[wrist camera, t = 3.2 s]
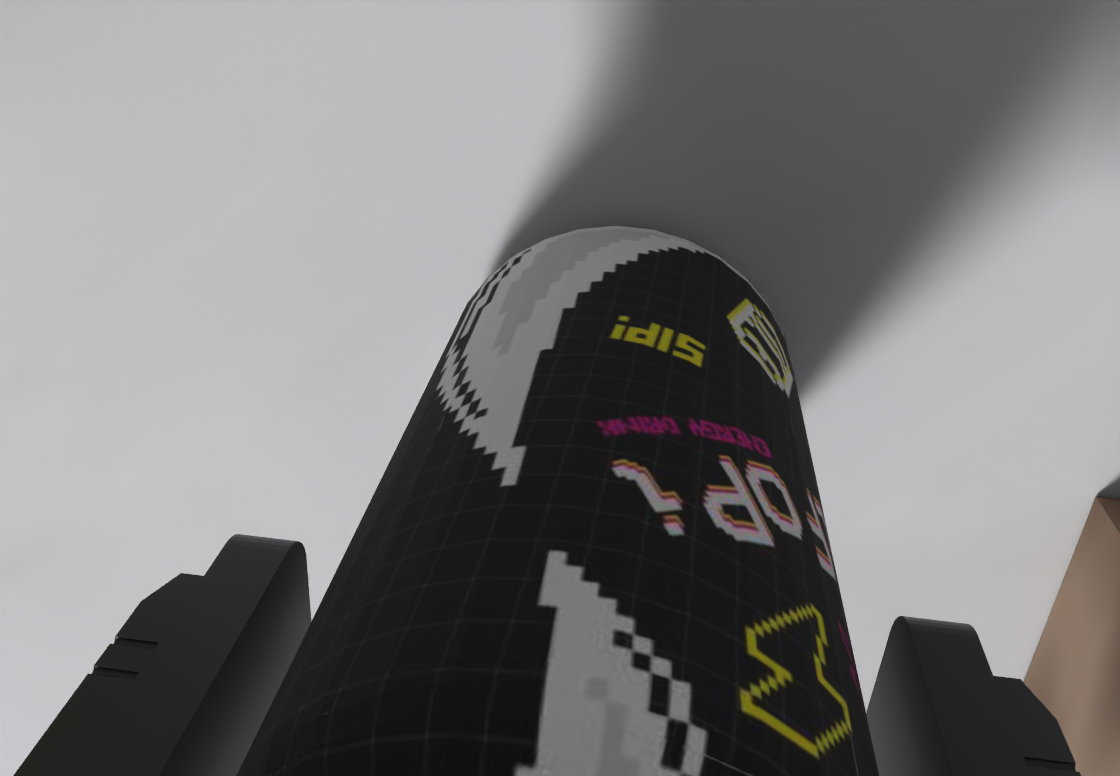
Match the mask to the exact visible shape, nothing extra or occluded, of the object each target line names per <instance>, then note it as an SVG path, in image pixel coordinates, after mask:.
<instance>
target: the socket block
mask: <svg viewBox="0 0 1120 776" xmlns="http://www.w3.org/2000/svg"><path fill="white" fill-rule="evenodd" d="M1023 683H1024V684H1025V685H1026V686H1027V687H1028V688H1029V689H1030V690H1031V691H1032V693H1033V694H1034V695H1035V696H1036V697H1037V698H1038V699H1039V700H1040V701H1041V702H1042V704H1043V705H1044V706H1045V707H1046V708H1047V709H1048V710H1049V711H1050V712H1051V713H1052V715H1053V716H1054V717H1055V718H1056V719H1057V721H1058V723H1059V725H1060V728H1061V730H1062V732H1063V735H1064V737H1065V739H1066V742H1067V744H1068V746H1069V749H1070V751H1071V753H1072V755H1073V758H1074V760H1075V762H1076V765H1075V769H1076V772H1080V774H1081V776H1120V499H1111V498H1102V497H1096V498H1095V501H1094V503H1093V506H1092V508H1091V511H1090V513H1089V516H1088V519H1087V521H1086V524H1085V526H1084V529H1083V531H1082V534H1081V536H1080V539H1079V542H1078V544H1077V547H1076V549H1075V552H1074V554H1073V557H1072V559H1071V562H1070V565H1069V567H1068V570H1067V572H1066V575H1065V577H1064V580H1063V582H1062V585H1061V588H1060V590H1059V593H1058V595H1057V598H1056V600H1055V603H1054V605H1053V608H1052V610H1051V613H1050V616H1049V618H1048V621H1047V623H1046V626H1045V628H1044V631H1043V633H1042V636H1041V639H1040V641H1039V644H1038V646H1037V649H1036V651H1035V654H1034V656H1033V659H1032V662H1031V664H1030V667H1029V669H1028V672H1027V674H1026V677H1025V679H1024V682H1023Z"/></svg>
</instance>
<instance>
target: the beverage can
mask: <svg viewBox="0 0 1120 776" xmlns="http://www.w3.org/2000/svg"><path fill="white" fill-rule="evenodd" d="M236 776H879V772H878V768H877V763H876V758H875V754H874V749H873V744H872V740H871V735H870V730H869V725H868V721H867V716H866V711H865V707H864V702H863V697H862V693H861V688H860V683H859V678H858V674H857V669H856V664H855V660H854V655H853V650H852V646H851V641H850V636H849V631H848V627H847V622H846V617H845V613H844V608H843V603H842V599H841V594H840V589H839V585H838V580H837V575H836V570H835V566H834V561H833V556H832V552H831V547H830V542H829V538H828V533H827V528H826V523H825V519H824V514H823V509H822V505H821V500H820V495H819V491H818V486H817V481H816V476H815V472H814V467H813V462H812V458H811V453H810V448H809V444H808V439H807V434H806V429H805V425H804V420H803V415H802V411H801V406H800V401H799V397H798V392H797V387H796V383H795V378H794V373H793V368H792V364H791V360H790V356H789V353H788V349H787V345H786V341H785V337H784V334H783V333H782V331H781V329H780V327H779V325H778V323H777V321H776V319H775V317H774V315H773V313H772V311H771V309H770V307H769V305H768V304H767V303H766V301H765V300H764V299H763V298H762V297H761V295H760V294H759V293H758V292H757V290H756V289H755V288H754V287H753V286H752V284H751V283H750V282H749V281H748V279H747V278H746V277H744V276H743V275H742V274H741V273H739V272H738V271H737V270H736V269H734V268H733V267H732V266H731V265H729V264H728V263H727V262H726V261H724V260H723V259H722V258H721V257H719V256H718V255H716V254H714V253H712V252H710V251H708V250H706V249H704V248H702V247H700V246H698V245H697V244H695V243H693V242H691V241H689V240H687V239H683V238H680V237H677V236H673V235H670V234H666V233H663V232H660V231H656V230H653V229H644V228H634V227H624V226H607V227H596V228H585V229H578V230H575V231H571V232H568V233H564V234H561V235H557V236H554V237H550V238H547V239H544V240H543V241H541V242H539V243H537V244H535V245H533V246H531V247H529V248H527V249H525V250H523V251H521V252H519V253H517V254H516V255H514V256H513V257H512V258H511V259H509V260H508V261H507V262H506V263H504V264H503V265H502V266H501V267H500V268H498V269H497V270H496V271H495V272H493V273H492V274H491V275H490V276H489V277H488V278H487V279H486V280H485V282H484V283H483V284H482V285H481V287H480V288H479V289H478V290H477V292H476V293H475V294H474V295H473V297H472V298H471V299H470V300H469V302H468V303H467V305H466V307H465V309H464V311H463V313H462V315H461V317H460V319H459V321H458V324H457V326H456V328H455V330H454V332H453V334H452V336H451V338H450V340H449V342H448V344H447V346H446V348H445V350H444V352H443V354H442V356H441V358H440V360H439V362H438V364H437V366H436V368H435V371H434V373H433V375H432V377H431V379H430V381H429V383H428V385H427V387H426V389H425V391H424V393H423V395H422V397H421V399H420V401H419V403H418V405H417V407H416V409H415V411H414V413H413V415H412V418H411V420H410V422H409V424H408V426H407V428H406V430H405V432H404V434H403V436H402V438H401V440H400V442H399V444H398V446H397V448H396V450H395V452H394V454H393V456H392V458H391V460H390V462H389V465H388V467H387V469H386V471H385V473H384V475H383V477H382V479H381V481H380V483H379V485H378V487H377V489H376V491H375V493H374V495H373V497H372V499H371V501H370V503H369V505H368V507H367V509H366V512H365V514H364V516H363V518H362V520H361V522H360V524H359V526H358V528H357V530H356V532H355V534H354V536H353V538H352V540H351V542H350V544H349V546H348V548H347V550H346V552H345V554H344V557H343V559H342V561H341V563H340V565H339V567H338V569H337V571H336V573H335V575H334V577H333V579H332V581H331V583H330V585H329V587H328V589H327V591H326V593H325V595H324V597H323V599H322V601H321V604H320V606H319V608H318V610H317V612H316V614H315V616H314V618H313V620H312V622H311V624H310V626H309V628H308V630H307V632H306V634H305V636H304V638H303V640H302V642H301V644H300V646H299V648H298V651H297V653H296V655H295V657H294V659H293V661H292V663H291V665H290V667H289V669H288V671H287V673H286V675H285V677H284V679H283V681H282V683H281V685H280V687H279V689H278V691H277V693H276V695H275V698H274V700H273V702H272V704H271V706H270V708H269V710H268V712H267V714H266V716H265V718H264V720H263V722H262V724H261V726H260V728H259V730H258V732H257V734H256V736H255V738H254V740H253V742H252V745H251V747H250V749H249V751H248V753H247V755H246V757H245V759H244V761H243V763H242V765H241V767H240V769H239V771H238V773H237V775H236Z"/></svg>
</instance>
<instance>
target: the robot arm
mask: <svg viewBox="0 0 1120 776" xmlns="http://www.w3.org/2000/svg"><path fill="white" fill-rule="evenodd" d="M310 624H311V611H310V599H309V586H308V573H307V560H306V552H305V548H304V546H303V544H302V543H301V542H299V541H290V540H282V539H274V538H265V537H257V536H249V535H241V534H236V535H234V536H232V537H231V538H230V539H229V540H228V541H227V543H226V544H225V546H224V547H223V549H222V550H221V552H220V553H219V555H218V556H217V558H216V559H215V561H214V562H213V563H212V565H211V566H210V568H209V569H208V571H207V572H206V574H205V575H204V576H199V575H191V574H183V573H181V574H179V575H178V576H177V577H175V578H174V579H172V580H171V581H169V582H168V583H167V584H165V585H164V586H162V587H161V588H159V589H158V590H157V591H155V592H154V593H152V594H151V595H150V596H148V597H147V598H145V599H144V600H142V601H141V602H140V604H139V605H138V606H137V608H136V609H135V610H134V612H133V613H132V615H131V616H130V617H129V619H128V620H127V621H126V623H125V624H124V625H123V627H122V628H121V630H120V631H119V632H118V634H117V635H116V636H115V642H114V644H110V645H109V646H108V647H107V649H106V650H105V651H104V653H103V654H102V655H101V657H100V658H99V660H98V661H97V662H96V664H95V665H94V670H93V673H92V674H88V675H87V676H86V677H85V679H84V680H83V681H82V683H81V684H80V685H79V687H78V688H77V690H76V691H75V692H74V694H73V695H72V696H71V698H70V699H69V701H68V702H67V703H66V705H65V706H64V707H63V709H62V710H61V711H60V713H59V714H58V716H57V717H56V718H55V720H54V721H53V722H52V724H51V725H50V726H49V728H48V729H47V731H46V732H45V733H44V735H43V736H42V737H41V739H40V740H39V741H38V743H37V744H36V746H35V747H34V748H33V750H32V751H31V752H30V754H29V755H28V756H27V758H26V759H25V761H24V762H23V763H22V765H21V766H20V767H19V769H18V770H17V771H16V773H15V774H14V776H236V775H237V773H238V771H239V769H240V767H241V765H242V763H243V761H244V759H245V757H246V755H247V753H248V751H249V749H250V747H251V745H252V742H253V740H254V738H255V736H256V734H257V732H258V730H259V728H260V726H261V724H262V722H263V720H264V718H265V716H266V714H267V712H268V710H269V708H270V706H271V704H272V702H273V700H274V698H275V695H276V693H277V691H278V689H279V687H280V685H281V683H282V681H283V679H284V677H285V675H286V673H287V671H288V669H289V667H290V665H291V663H292V661H293V659H294V657H295V655H296V653H297V651H298V648H299V646H300V644H301V642H302V640H303V638H304V636H305V634H306V632H307V630H308V628H309V626H310ZM866 716H867V721H868V725H869V730H870V735H871V740H872V744H873V749H874V754H875V758H876V763H877V768H878V772H879V776H1081V774H1080V772H1076V769H1075V765H1076V762H1075V760H1074V758H1073V755H1072V753H1071V751H1070V749H1069V746H1068V744H1067V742H1066V739H1065V737H1064V735H1063V732H1062V730H1061V728H1060V725H1059V723H1058V721H1057V719H1056V718H1055V717H1054V716H1053V715H1052V713H1051V712H1050V711H1049V710H1048V709H1047V708H1046V707H1045V706H1044V705H1043V704H1042V702H1041V701H1040V700H1039V699H1038V698H1037V697H1036V696H1035V695H1034V694H1033V693H1032V691H1031V690H1030V689H1029V688H1028V687H1027V686H1026V685H1025V684H1024V683H1023V682H1022V680H1021V679H1014V678H1006V677H998V676H993V674H992V672H991V669H990V667H989V664H988V661H987V659H986V656H985V653H984V651H983V648H982V645H981V643H980V640H979V637H978V635H977V633H976V631H975V630H974V628H973V627H972V626H971V625H969V624H963V623H955V622H946V621H938V620H930V619H921V618H913V617H905V616H899V617H898V618H897V619H896V620H895V621H894V623H893V625H892V628H891V631H890V634H889V638H888V641H887V644H886V648H885V651H884V655H883V658H882V661H881V665H880V668H879V672H878V675H877V678H876V682H875V685H874V689H873V692H872V695H871V699H870V702H869V706H868V709H867V713H866Z"/></svg>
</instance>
